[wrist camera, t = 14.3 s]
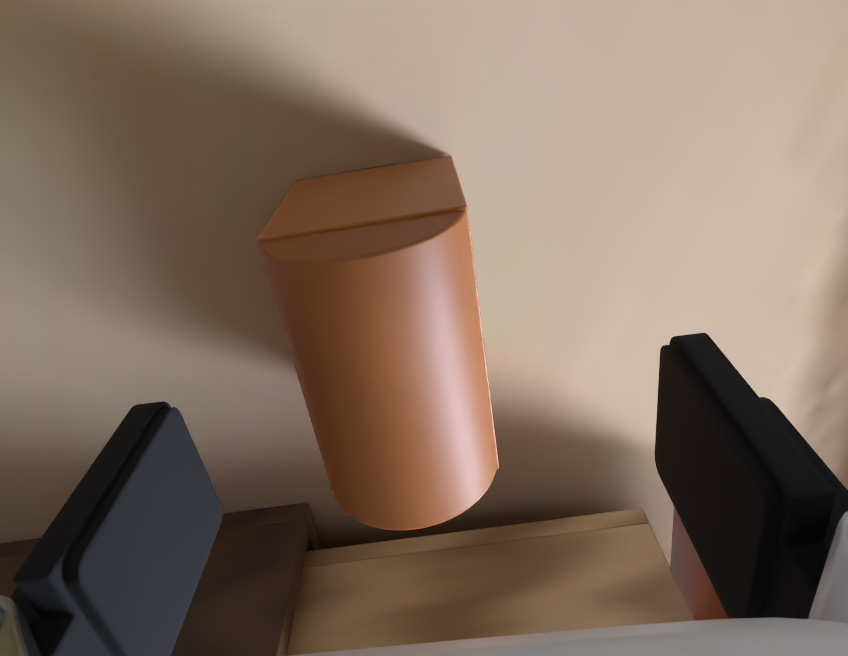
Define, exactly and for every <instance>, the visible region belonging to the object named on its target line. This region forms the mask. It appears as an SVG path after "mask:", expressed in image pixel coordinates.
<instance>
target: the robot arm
mask: <svg viewBox="0 0 848 656" xmlns="http://www.w3.org/2000/svg"><path fill="white" fill-rule="evenodd" d="M655 462H656V467H657V470H658V473H659V475H660V478H661V480H662V482H663V484H664V486H665V488H666V490H667V492H668V494H669V496H670V498H671V500H672V502H673V505H674V507H675V509H676V511H677V513H678V515H679V517H680V519H681V521H682V523H683V525H684V527H685V529H686V532H687V534H688V536H689V538H690V540H691V542H692V544H693V546H694V548H695V550H696V552H697V554H698V556H699V559H700V561H701V563H702V565H703V567H704V569H705V571H706V573H707V575H708V577H709V579H710V581H711V583H712V586H713V588H714V590H715V592H716V594H717V596H718V598H719V600H720V602H721V604H722V606H723V608H724V610H725V613H726V615H727V617H728V619H712V620H698V621H683V622H669V623H655V624H640V625H626V626H613V627H602V628H590V629H579V630H567V631H555V632H544V633H532V634H521V635H509V636H497V637H486V638H474V639H463V640H452V641H441V642H430V643H419V644H408V645H397V646H386V647H375V648H364V649H354V650H343V651H332V652H321V653H311V654H300V655H289V656H848V490H847V489H846V488H845V487H844V486H843V484H842V483H841V482H840V481H839V480H838V479H837V477H836V476H835V475H834V474H833V473H832V471H831V470H830V469H829V468H828V467H827V465H826V464H825V463H824V462H823V461H822V459H821V458H820V457H819V456H818V455H817V454H816V452H815V451H814V450H813V449H812V448H811V446H810V445H809V444H808V443H807V442H806V440H805V439H804V438H803V437H802V436H801V435H800V433H799V432H798V431H797V430H796V429H795V427H794V426H793V425H792V424H791V423H790V421H789V420H788V419H787V418H786V417H785V415H784V414H783V413H782V412H781V411H780V410H779V408H778V407H777V406H776V405H775V404H774V403H773V402H772V401H771V400H770V399H768V398H765V397H760V398H759V397H758V396H757V394H756V393H755V392H754V391H753V389H752V388H751V387H750V386H749V385H748V383H747V382H746V381H745V380H744V378H743V377H742V376H741V375H740V373H739V372H738V371H737V370H736V369H735V367H734V366H733V365H732V364H731V362H730V361H729V360H728V359H727V358H726V356H725V355H724V354H723V353H722V351H721V350H720V349H719V348H718V347H717V345H716V344H715V343H714V342H713V340H712V339H711V338H710V337H709V336H708V335H707V334H706V333H698V334H691V335H683V336H675V337H673V338H671V341H670V345H665V346H662V348H661V351H660V367H659V386H658V405H657V424H656V443H655ZM221 521H222V506H221V503H220V500H219V498H218V496H217V494H216V491H215V489H214V487H213V485H212V482H211V480H210V478H209V476H208V473H207V471H206V469H205V467H204V464H203V462H202V460H201V458H200V455H199V453H198V451H197V449H196V446H195V444H194V442H193V440H192V437H191V435H190V433H189V431H188V428H187V426H186V424H185V422H184V420H183V417H182V415H181V413H180V411H179V410H178V409H177V408H174V407H173V408H171V406H170V405H169V404H168V403H167V402H164V401H163V402H155V403H147V404H139V405H135V406H133V407H132V408H131V409H130V411H129V412H128V414H127V415H126V416H125V418H124V419H123V421H122V422H121V424H120V425H119V427H118V428H117V429H116V431H115V432H114V434H113V435H112V437H111V438H110V439H109V441H108V442H107V444H106V445H105V447H104V448H103V450H102V451H101V452H100V454H99V455H98V457H97V458H96V460H95V461H94V462H93V464H92V465H91V467H90V468H89V470H88V471H87V473H86V474H85V475H84V477H83V478H82V480H81V481H80V483H79V484H78V485H77V487H76V488H75V490H74V491H73V493H72V494H71V496H70V497H69V498H68V500H67V501H66V503H65V504H64V506H63V507H62V509H61V510H60V511H59V513H58V514H57V516H56V517H55V519H54V520H53V521H52V523H51V524H50V526H49V527H48V529H47V530H46V532H45V533H44V534H43V536H42V537H41V539H40V540H39V542H38V543H37V544H36V546H35V547H34V549H33V550H32V552H31V553H30V555H29V556H28V557H27V559H26V560H25V562H24V563H23V565H22V566H21V567H20V569H19V570H18V572H17V573H16V575H15V576H14V578H13V579H12V580H13V582H14V583H15V584H16V586H17V588H16V589H15V591H14V592H13V594H12V595H11V597H10V598H8V597H6V596H3V595H0V656H171V654H172V651H173V648H174V646H175V643H176V641H177V638H178V635H179V633H180V630H181V627H182V625H183V622H184V619H185V617H186V614H187V612H188V609H189V606H190V604H191V601H192V598H193V596H194V593H195V590H196V588H197V585H198V582H199V580H200V577H201V575H202V572H203V569H204V567H205V564H206V561H207V559H208V556H209V553H210V551H211V548H212V546H213V543H214V540H215V538H216V535H217V532H218V530H219V527H220V524H221Z"/></svg>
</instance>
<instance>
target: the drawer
mask: <svg viewBox="0 0 848 656" xmlns="http://www.w3.org/2000/svg"><path fill="white" fill-rule="evenodd" d="M712 619H728V617H727V615H726V613H725V610H724V608H723V606H722V604H721V602H720V600H719V598H718V596H717V594H716V592H715V590H714V588H713V586H712V583H711V581H710V579H709V577H708V575H707V573H706V571H705V569H704V567H703V565H702V563H701V561H700V559H699V556H698V554H697V552H696V550H695V548H694V546H693V544H692V542H691V540H690V538H689V536H688V534H687V532H686V529H685V527H684V525H683V523H682V521H681V519H680V517H679V515H678V513H677V511H676V509H675V507H674V515H673V532H672V548H671V565H670V567H669V565H668V562H667V560H666V558H665V556H664V554H663V552H662V550H661V548H660V546H659V543H658V541H657V539H656V537H655V535H654V533H653V531H652V529H651V527H650V525H649V522H648V520H647V517H646V515H645V513H644V511H643V509H642V508H638V509H630V510H622V511H615V512H607V513H599V514H591V515H584V516H576V517H568V518H561V519H553V520H545V521H537V522H530V523H522V524H514V525H507V526H499V527H491V528H483V529H476V530H468V531H460V532H453V533H445V534H437V535H429V536H422V537H414V538H406V539H399V540H391V541H383V542H375V543H368V544H360V545H352V546H345V547H337V548H329V549H321V550H314V551H306V555H305V560H304V565H303V571H302V576H301V581H300V586H299V592H298V597H297V602H296V608H295V613H294V618H293V624H292V629H291V634H290V640H289V645H288V650H287V656H289V655H300V654H311V653H321V652H332V651H343V650H354V649H364V648H375V647H386V646H397V645H408V644H419V643H430V642H441V641H452V640H463V639H474V638H486V637H497V636H509V635H521V634H532V633H544V632H555V631H567V630H579V629H590V628H602V627H613V626H626V625H640V624H655V623H669V622H683V621H698V620H712Z"/></svg>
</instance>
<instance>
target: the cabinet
mask: <svg viewBox="0 0 848 656" xmlns="http://www.w3.org/2000/svg"><path fill="white" fill-rule="evenodd" d="M39 540H40V539H35V540H28V541H20V542H13V543H5V544H0V595H3V596H6V597H8V598H10V597H11V595H12V594H13V592H14V591H15V589H16V588H17V586H16V584H15V583H14V582H13V580H12V579H13V578H14V576H15V575H16V573H17V572H18V570H19V569H20V567H21V566H22V565H23V563H24V562H25V560H26V559H27V557H28V556H29V555H30V553H31V552H32V550H33V549H34V547H35V546H36V544H37V543H38V542H39ZM321 549H323V548H322V545H321V542H320V539H319V536H318V533H317V530H316V527H315V524H314V521H313V518H312V515H311V512H310V509H309V506H308V503H305V504H297V505H290V506H282V507H275V508H267V509H260V510H252V511H245V512H237V513H230V514H222V521H221V524H220V527H219V530H218V532H217V535H216V538H215V540H214V543H213V546H212V548H211V551H210V553H209V556H208V559H207V561H206V564H205V567H204V569H203V572H202V575H201V577H200V580H199V582H198V585H197V588H196V590H195V593H194V596H193V598H192V601H191V604H190V606H189V609H188V612H187V614H186V617H185V619H184V622H183V625H182V627H181V630H180V633H179V635H178V638H177V641H176V643H175V646H174V648H173V651H172V654H171V656H287V650H288V645H289V640H290V634H291V629H292V624H293V618H294V613H295V608H296V602H297V597H298V592H299V586H300V581H301V576H302V571H303V565H304V560H305V555H306V551H314V550H321Z"/></svg>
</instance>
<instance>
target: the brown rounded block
mask: <svg viewBox="0 0 848 656" xmlns="http://www.w3.org/2000/svg"><path fill="white" fill-rule="evenodd" d="M257 242H258V245H259V248H260V252H261V255H262V258H263V262H264V265H265V268H266V272H267V275H268V278H269V282H270V285H271V288H272V292H273V295H274V299H275V302H276V305H277V309H278V312H279V315H280V319H281V322H282V325H283V329H284V332H285V335H286V339H287V342H288V345H289V349H290V352H291V355H292V359H293V362H294V365H295V369H296V372H297V375H298V379H299V382H300V385H301V389H302V392H303V395H304V399H305V402H306V405H307V409H308V412H309V415H310V419H311V422H312V425H313V429H314V432H315V435H316V439H317V442H318V445H319V449H320V452H321V455H322V459H323V462H324V466H325V469H326V472H327V476H328V479H329V482H330V486H331V489H332V491H333V493H334V496H335V498H336V500H337V502H338V504H339V505H340V506H341V507H342V509H343V510H344V511H345V512H346V513H348V514H349V515H350V516H351V517H353V518H354V519H356V520H358V521H359V522H361V523H364V524H366V525H369V526H372V527H376V528H380V529H387V530H414V529H420V528H426V527H430V526H433V525H437V524H440V523H443V522H445V521H448V520H450V519H452V518H454V517H456V516H458V515H460V514H461V513H463V512H464V511H466V510H467V509H469V508H470V507H471V506H473V505H474V504H475V503H476V502H477V501H478V500H479V499H480V498H481V497H482V496H483V495H484V494H485V492H486V491H487V490H488V488H489V487H490V485H491V483H492V481H493V479H494V476H495V473H496V469H499V463H498V454H497V446H496V438H495V430H494V422H493V413H492V405H491V397H490V389H489V380H488V372H487V364H486V356H485V348H484V339H483V331H482V323H481V315H480V307H479V298H478V290H477V282H476V274H475V266H474V257H473V249H472V241H471V233H470V225H469V216H468V208H467V204H466V201H465V198H464V195H463V192H462V188H461V185H460V182H459V179H458V176H457V172H456V169H455V166H454V163H453V160H452V157H451V156H446V157H439V158H433V159H427V160H421V161H415V162H408V163H402V164H396V165H390V166H384V167H377V168H371V169H365V170H359V171H353V172H347V173H340V174H334V175H328V176H322V177H316V178H309V179H303V180H297V181H295V182H294V184H293V185H292V187H291V188H290V190H289V191H288V193H287V194H286V196H285V197H284V199H283V200H282V202H281V203H280V205H279V206H278V208H277V209H276V211H275V212H274V214H273V215H272V217H271V218H270V220H269V221H268V223H267V224H266V226H265V227H264V229H263V230H262V232H261V233H260V235H259V236H258V238H257Z"/></svg>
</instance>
